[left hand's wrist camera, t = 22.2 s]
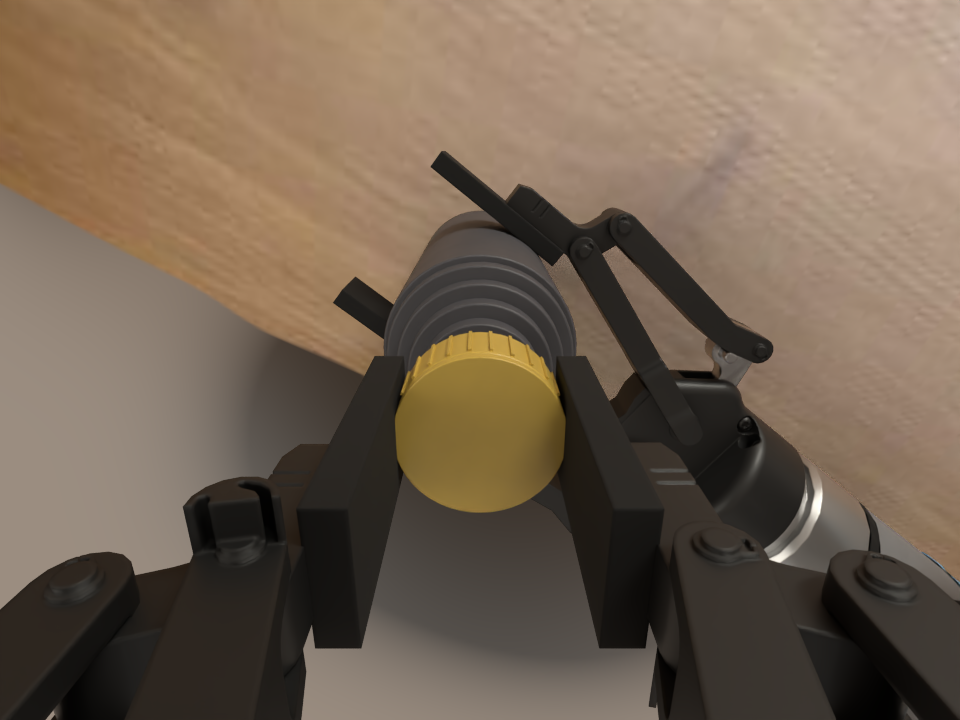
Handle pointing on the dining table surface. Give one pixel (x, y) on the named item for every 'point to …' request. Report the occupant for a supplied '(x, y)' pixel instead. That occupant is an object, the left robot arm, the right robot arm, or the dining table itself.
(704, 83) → the dining table surface
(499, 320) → the bottle
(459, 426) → the cap
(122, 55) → the dining table surface
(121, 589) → the left robot arm
